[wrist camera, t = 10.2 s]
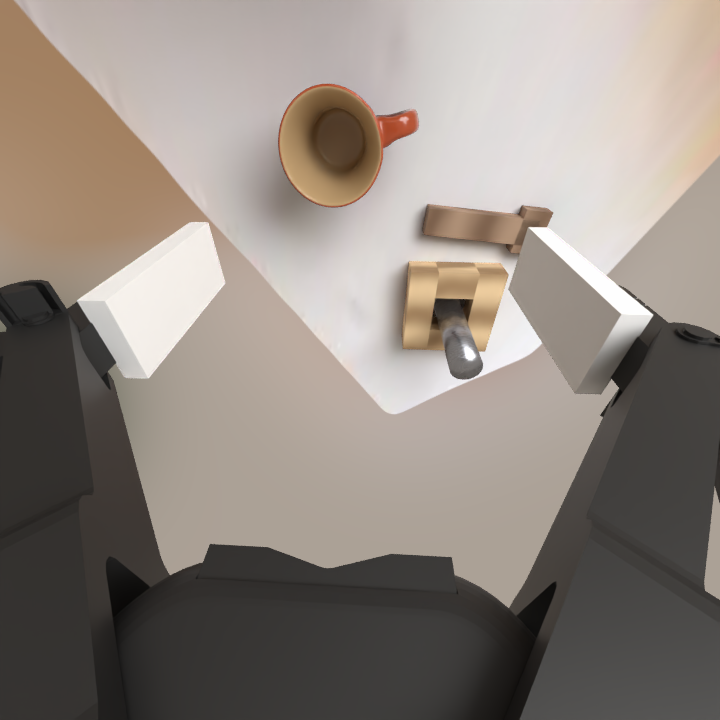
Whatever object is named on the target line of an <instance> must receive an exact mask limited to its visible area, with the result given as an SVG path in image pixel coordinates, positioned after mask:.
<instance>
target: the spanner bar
mask: <svg viewBox="0 0 720 720" xmlns="http://www.w3.org/2000/svg"><path fill="white" fill-rule="evenodd" d="M552 215H553V212H552V211H550V210H549V209H547V208H540V207H531V206H522V207H521V210H520V212H519V214H511V213H502V212H493V211H484V210H475V209H466V208H457V207H448V206H439V205H430V204H428V206H427V211H426V216H425V220H424V225H423V233H424V235H430V236H440V237H449V238H458V239H467V240H476V241H485V242H494V243H503V244H507V246H506V248H507V249H508V250H509V251H510V253H518V254H520V251H521V248H522V245H523V242H524V239H525V236H526V232H527V229H528V227H547V226H548V224H549V221H550V219H551V217H552Z"/></svg>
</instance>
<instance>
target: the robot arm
mask: <svg viewBox="0 0 720 720" xmlns="http://www.w3.org/2000/svg"><path fill="white" fill-rule="evenodd" d="M224 284H225V280H224V276H223V273H222V269H221V266H220V262H219V258H218V255H217V252H216V248H215V245H214V241H213V237H212V234H211V231H210V227H209V223H208V222H190V223H188V224H187V225H185V226H184V227H182V228H181V229H180V230H178V231H177V232H175V233H174V234H172V235H171V236H169V237H168V238H167V239H165V240H164V241H162V242H161V243H159V244H158V245H157V246H155V247H153V248H152V249H151V250H149V251H148V252H146V253H145V254H143V255H142V256H140V257H139V258H138V259H136V260H135V261H134V262H132V263H130V264H129V265H127V266H126V267H124V268H123V269H122V270H120V271H119V272H117V273H116V274H115V275H113V276H111V277H110V278H109V279H107V280H106V281H104V282H103V283H101V284H100V285H98V286H97V287H96V288H94V289H93V290H91V291H90V292H88V293H87V294H85V295H84V296H82V297H81V298H80V299H78V300H77V302H76V303H75V304H74V305H72V306H71V307H69V308H68V309H66V307H65V306H64V304H63V303H62V301H61V300H60V298H59V297H58V295H57V294H56V292H55V291H54V289H53V288H52V286H51V285H50V283H49V282H48V281H43V280H29V281H23V282H18V283H14V284H10V285H7V286H4V287H2V288H0V320H1V321H2V323H3V324H4V325H5V326H6V327H7V329H6V332H0V720H720V600H719V599H717V598H716V597H714V596H712V595H711V594H709V593H708V592H706V591H705V589H704V578H705V577H704V576H705V569H706V568H705V567H706V558H707V550H708V541H709V532H710V523H711V514H712V504H713V495H714V486H715V488H716V491H717V495H718V499H719V502H720V336H718V335H716V334H715V333H713V332H711V331H709V330H706V329H704V328H702V327H698V326H694V325H690V324H686V323H675V322H674V323H668V322H667V321H666V320H664V319H663V318H662V317H661V316H659V315H658V314H657V313H656V312H654V311H653V310H652V309H651V308H650V307H648V306H645V303H643V302H642V301H641V300H639V299H636V298H637V297H636V296H635V295H633V294H632V293H631V292H630V291H628V290H627V289H626V288H624V287H622V286H620V285H617V284H615V283H614V282H613V281H612V280H611V279H609V278H608V277H607V276H606V275H604V274H603V273H602V272H601V271H600V270H598V269H597V268H596V267H595V266H594V265H592V264H591V263H590V262H589V261H588V260H586V259H585V258H584V257H583V256H581V255H580V254H579V253H578V252H577V251H575V250H574V249H573V248H572V247H571V246H569V245H568V244H567V243H566V242H565V241H563V240H562V239H561V238H560V237H558V236H557V235H556V234H555V233H554V232H552V231H551V230H550V229H549V228H547V227H528V229H527V232H526V236H525V239H524V242H523V245H522V248H521V251H520V255H519V258H518V261H517V264H516V267H515V270H514V274H513V277H512V280H511V283H510V286H509V289H508V290H509V291H510V293H511V294H512V296H513V297H514V299H515V301H516V302H517V304H518V305H519V307H520V308H521V310H522V312H523V313H524V315H525V316H526V318H527V319H528V321H529V323H530V324H531V326H532V327H533V329H534V330H535V332H536V333H537V335H538V337H539V338H540V340H541V341H542V343H543V344H544V346H545V347H546V349H547V351H548V352H549V354H550V355H551V357H552V359H553V360H554V362H555V363H556V365H557V366H558V368H559V370H560V371H561V373H562V374H563V376H564V377H565V379H566V380H567V382H568V384H569V385H570V387H571V388H572V390H573V391H574V393H576V394H602V392H603V390H604V389H605V387H606V386H607V385H608V383H609V381H610V380H611V379H612V380H613V381H614V382H615V383H616V385H617V386H618V387H619V389H618V391H617V392H616V393H615V395H614V396H613V398H612V399H611V401H610V402H609V404H608V405H607V406H606V408H605V409H604V411H603V412H602V413H601V415H600V416H602V417H603V419H602V421H601V423H600V425H599V427H598V430H597V432H596V434H595V436H594V438H593V440H592V442H591V444H590V446H589V449H588V451H587V453H586V455H585V457H584V459H583V461H582V463H581V466H580V468H579V470H578V472H577V474H576V476H575V479H574V480H573V482H572V485H571V487H570V489H569V491H568V493H567V495H566V497H565V499H564V502H563V504H562V506H561V508H560V510H559V512H558V514H557V516H556V518H555V521H554V523H553V525H552V527H551V529H550V531H549V533H548V535H547V538H546V540H545V542H544V544H543V546H542V548H541V550H540V552H539V554H538V557H537V559H536V561H535V563H534V565H533V567H532V570H531V571H530V574H529V575H528V578H527V580H526V581H525V583H524V585H523V587H522V588H521V590H520V591H519V593H518V594H517V596H516V597H515V599H514V600H513V603H512V604H511V606H510V608H508V607H506V606H505V605H504V604H503V603H502V602H500V601H499V600H498V599H497V598H495V597H494V596H493V595H491V594H490V593H488V592H487V591H485V590H484V589H482V588H481V587H479V586H477V585H475V584H473V583H471V582H469V581H467V580H465V579H463V578H461V577H458V576H455V575H454V569H453V563H452V558H451V557H436V556H435V557H434V556H418V555H400V554H389V555H385V556H381V557H377V558H373V559H368V560H365V561H360V562H356V563H352V564H348V565H343V566H339V567H335V568H322V567H319V566H316V565H314V564H311V563H309V562H306V561H303V560H301V559H298V558H295V557H292V556H290V555H287V554H284V553H282V552H279V551H276V550H273V549H271V548H268V547H253V546H235V545H234V546H233V545H215V544H210V545H209V548H208V551H207V554H206V556H205V559H204V561H203V563H199V564H196V565H193V566H191V567H188V568H185V569H182V570H181V571H178V572H176V573H174V574H172V575H169V573H168V571H167V570H166V568H165V566H164V564H163V561H162V559H161V556H160V553H159V549H158V545H157V542H156V538H155V534H154V530H153V527H152V523H151V519H150V515H149V511H148V508H147V504H146V500H145V496H144V493H143V489H142V485H141V482H140V478H139V474H138V471H137V467H136V463H135V459H134V456H133V452H132V448H131V444H130V441H129V437H128V433H127V429H126V425H125V422H124V418H123V414H122V411H121V407H120V403H119V399H118V396H117V392H116V388H115V385H114V381H113V379H112V378H111V376H110V375H109V373H108V370H109V369H110V368H111V367H112V366H113V365H114V364H115V363H116V365H117V366H118V368H119V370H120V371H121V373H122V374H123V376H124V377H125V378H143V379H148V378H149V377H150V376H151V375H152V373H153V372H154V371H155V370H156V369H157V367H158V366H159V365H160V364H161V362H162V361H163V360H164V359H165V357H166V356H167V355H168V354H169V352H170V351H171V350H172V349H173V347H174V346H175V345H176V344H177V342H178V341H179V340H180V339H181V338H182V336H183V335H184V334H185V333H186V331H187V330H188V329H189V328H190V326H191V325H192V324H193V323H194V321H195V320H196V319H197V318H198V316H199V315H200V314H201V313H202V311H203V310H204V309H205V308H206V306H207V305H208V304H209V303H210V302H211V300H212V299H213V298H214V297H215V295H216V294H217V293H218V292H219V291H220V289H221V288H222V287H223V285H224Z"/></svg>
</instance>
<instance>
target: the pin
mask: <svg viewBox="0 0 720 720" xmlns="http://www.w3.org/2000/svg"><path fill="white" fill-rule="evenodd" d="M434 309H435V313H436V317H437V321H438V325H439V329H440V333H441V337H442V341H443V345H444V349H445V353H446V357H447V361H448V365H449V369H450V373H451V374H452V376H454V377H455V378H458V379H470V378H473V377H475V376H477V375H478V374H479V373H480V372H481V370H482V368H483V363H482V360H481V357H480V355H479V352H478V349H477V347H476V344H475V341H474V339H473V336H472V333H471V330H470V328H469V325H468V322H467V320H466V317H465V314H464V312H463V309H462V306H461V304H460V301H459V299H444V298H437V299H436V301H435V303H434Z"/></svg>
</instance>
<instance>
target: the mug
mask: <svg viewBox="0 0 720 720" xmlns="http://www.w3.org/2000/svg"><path fill="white" fill-rule="evenodd" d="M418 127H419V120H418V114H417V111H416V110H415V109H408V110H404V111H401V112H398V113H395V114H390V115H377V116H375V114H374V112H373V111H372V109H371V108H370V107H369V105H368V104H367V103H366V102H365V101H364V100H363V99H362V98H361V97H359V96H358V95H357V94H356V93H354V92H353V91H351V90H349V89H347V88H345V87H342V86H340V85H335V84H319V85H315V86H312V87H310V88H307V89H306V90H304V91H302V92H301V93H300V94H298V95H297V96H296V97H295V98H294V99H293V100H292V102H291V103H290V104H289V106H288V107H287V109H286V111H285V113H284V115H283V118H282V121H281V124H280V129H279V137H278V147H279V155H280V160H281V163H282V166H283V169H284V171H285V174H286V176H287V177H288V179H289V181H290V182H291V184H292V185H293V186H294V188H295V189H296V190H297V191H298V192H299V193H300V194H301V195H302V196H304V197H305V198H306V199H308V200H309V201H311V202H313V203H315V204H318V205H321V206H325V207H342V206H346V205H349V204H352V203H354V202H356V201H357V200H359V199H360V198H361V197H363V196H364V195H365V194H366V193H367V192H368V191H369V189H370V188H371V187H372V185H373V183H374V182H375V180H376V178H377V176H378V173H379V171H380V167H381V164H382V160H383V148H385V147H387V146H389V145H390V144H391V143H392V142H394V141H396V140H398V139H400V138H403V137H406V136H408V135H411V134H413V133H414V132H416V131H417V130H418Z"/></svg>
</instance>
